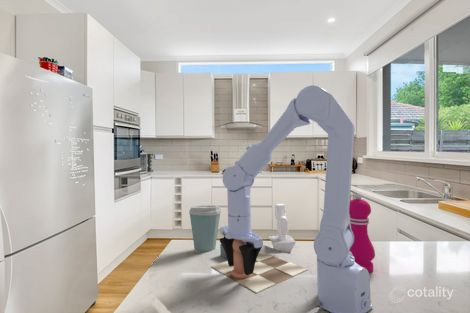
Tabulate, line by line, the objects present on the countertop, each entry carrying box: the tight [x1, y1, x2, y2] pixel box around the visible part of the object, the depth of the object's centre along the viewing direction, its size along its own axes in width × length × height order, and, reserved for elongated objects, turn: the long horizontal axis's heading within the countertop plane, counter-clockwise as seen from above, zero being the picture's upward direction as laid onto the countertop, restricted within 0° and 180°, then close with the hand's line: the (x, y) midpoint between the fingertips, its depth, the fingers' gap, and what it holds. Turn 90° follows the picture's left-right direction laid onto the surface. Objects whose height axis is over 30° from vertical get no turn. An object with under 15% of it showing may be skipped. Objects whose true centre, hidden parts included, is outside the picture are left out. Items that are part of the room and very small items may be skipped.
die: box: [219, 243, 227, 260], centre depth 77 cm, size 4×4×5 cm
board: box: [210, 250, 309, 294], centre depth 68 cm, size 18×18×1 cm
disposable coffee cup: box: [188, 204, 222, 254], centre depth 85 cm, size 11×11×15 cm
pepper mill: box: [349, 193, 376, 274], centre depth 69 cm, size 7×7×20 cm
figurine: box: [268, 203, 297, 253], centre depth 84 cm, size 7×9×15 cm
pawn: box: [232, 239, 250, 279], centre depth 64 cm, size 4×4×9 cm
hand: (240, 269), depth 64 cm, fingers open, 6 cm apart
